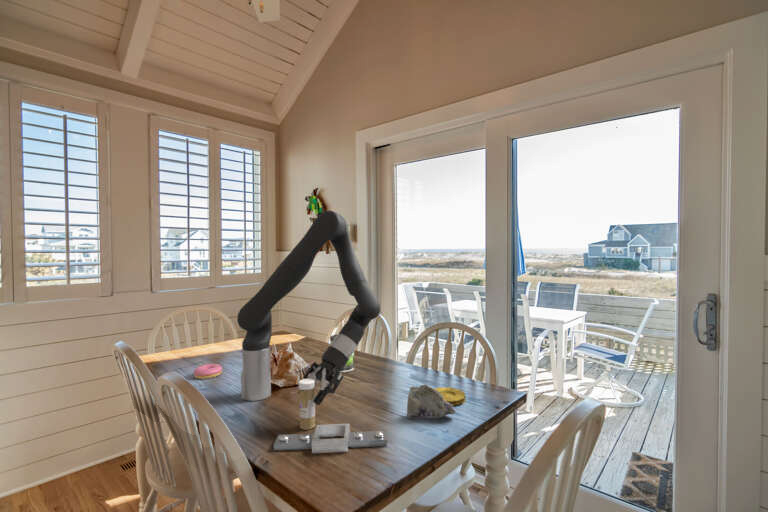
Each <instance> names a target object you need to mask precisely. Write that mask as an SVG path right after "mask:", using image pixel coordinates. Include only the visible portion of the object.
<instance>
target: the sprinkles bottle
mask: <svg viewBox="0 0 768 512" xmlns="http://www.w3.org/2000/svg"><path fill="white" fill-rule="evenodd" d="M315 387H316V384H315V381H314V380H313V379H303V378H302V379H300V380H298V391H299V390H300V395H299V429H301V430H304V431H308V430H311V429H313V428H316V418H315V417H316V404H315V403H314V402H313V400H314V399H315V397H316V396H315Z"/></svg>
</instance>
